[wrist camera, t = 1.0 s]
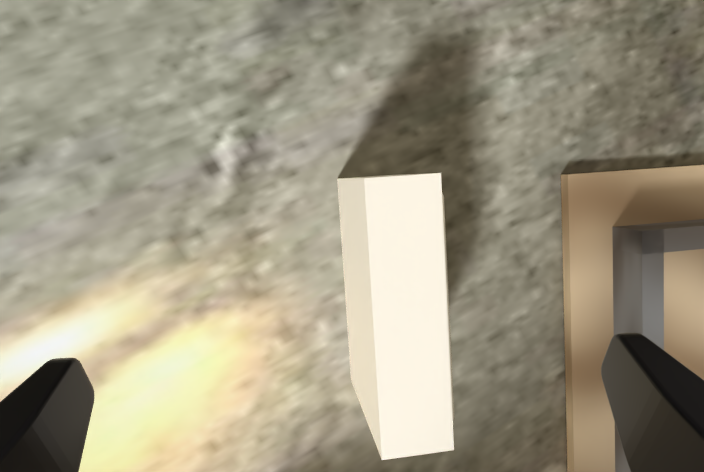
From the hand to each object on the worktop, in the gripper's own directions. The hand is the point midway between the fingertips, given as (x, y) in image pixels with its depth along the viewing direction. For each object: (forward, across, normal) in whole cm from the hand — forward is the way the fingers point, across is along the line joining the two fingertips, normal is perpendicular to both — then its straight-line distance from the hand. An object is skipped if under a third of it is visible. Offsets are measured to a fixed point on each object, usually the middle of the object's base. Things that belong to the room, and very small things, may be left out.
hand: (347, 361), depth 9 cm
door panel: (+12, -1, +9) cm, 15 cm away
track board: (+10, -15, +14) cm, 23 cm away
